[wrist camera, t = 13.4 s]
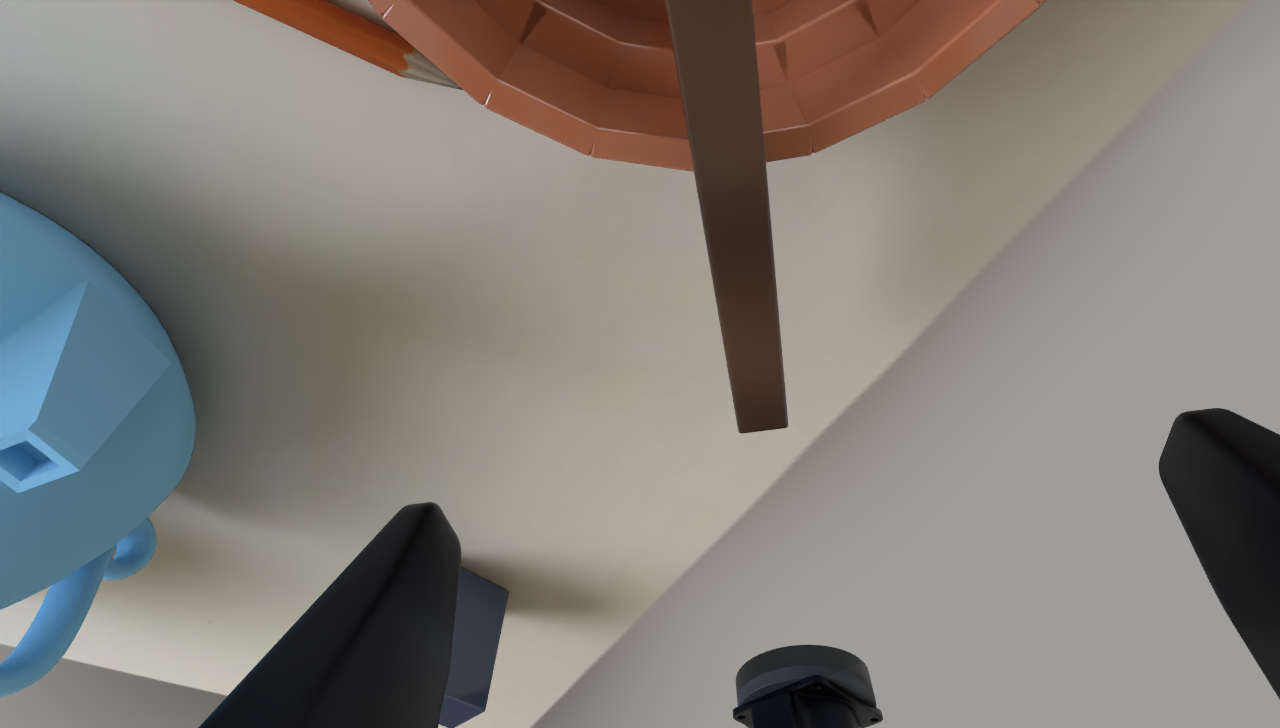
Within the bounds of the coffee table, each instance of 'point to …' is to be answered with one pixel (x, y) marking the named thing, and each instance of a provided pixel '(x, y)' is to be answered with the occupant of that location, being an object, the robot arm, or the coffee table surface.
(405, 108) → the coffee table surface
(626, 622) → the coffee table surface
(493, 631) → the slate blue rectangular block
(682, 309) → the coffee table surface
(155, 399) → the teapot
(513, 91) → the bowl
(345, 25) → the pencil
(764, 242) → the brown round-ended long piece
